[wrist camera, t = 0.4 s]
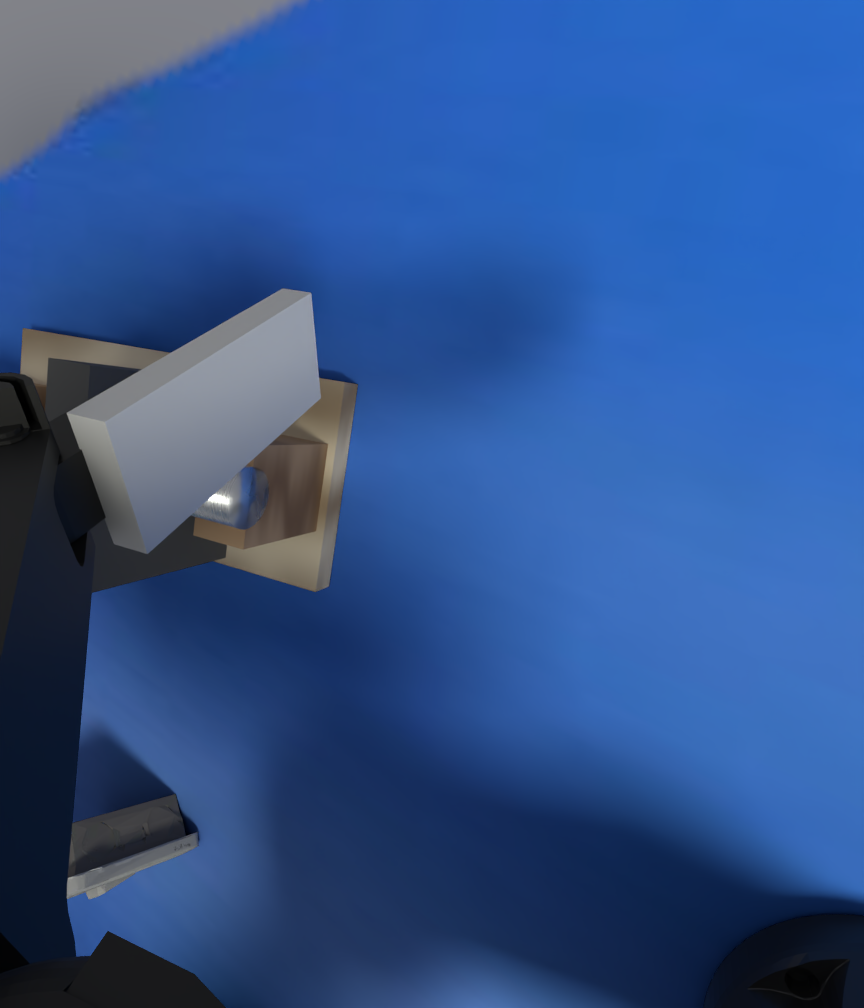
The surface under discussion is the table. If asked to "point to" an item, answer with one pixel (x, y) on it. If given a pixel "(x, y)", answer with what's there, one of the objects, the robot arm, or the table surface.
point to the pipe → (238, 500)
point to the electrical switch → (124, 845)
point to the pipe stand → (286, 462)
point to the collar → (111, 561)
